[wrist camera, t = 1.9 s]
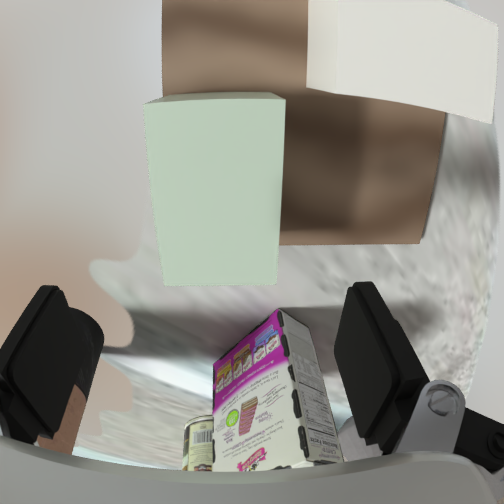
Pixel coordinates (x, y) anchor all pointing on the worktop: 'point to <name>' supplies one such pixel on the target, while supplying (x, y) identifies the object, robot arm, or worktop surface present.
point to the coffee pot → (355, 443)
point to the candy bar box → (272, 402)
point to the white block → (404, 53)
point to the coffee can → (198, 445)
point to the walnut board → (310, 123)
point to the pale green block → (216, 186)
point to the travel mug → (78, 385)
